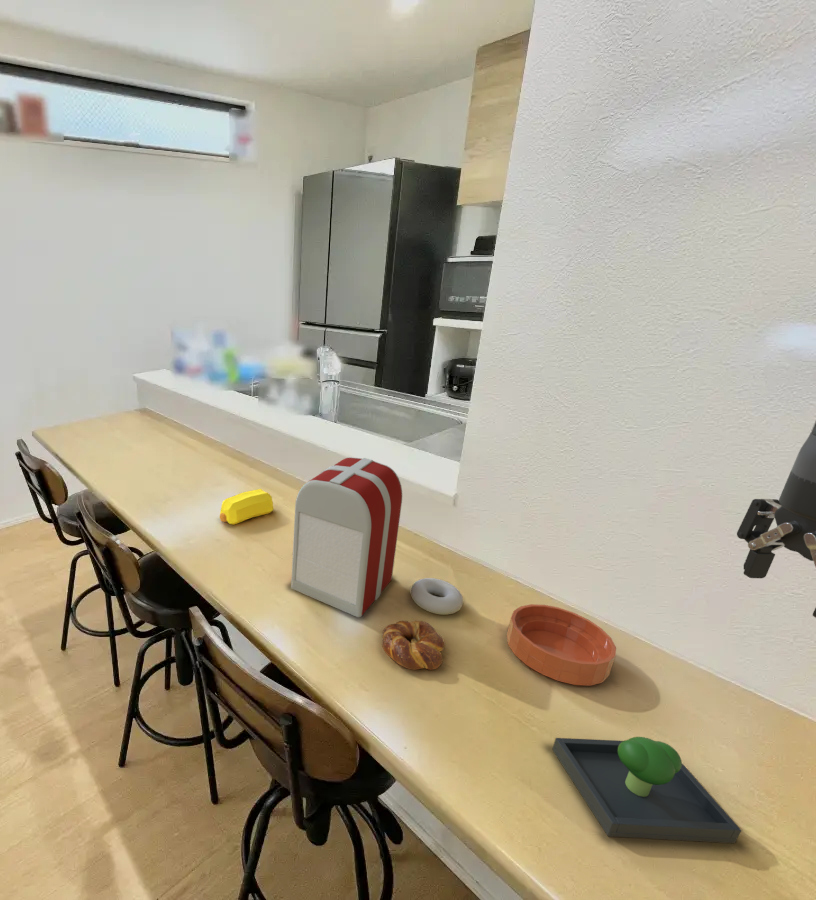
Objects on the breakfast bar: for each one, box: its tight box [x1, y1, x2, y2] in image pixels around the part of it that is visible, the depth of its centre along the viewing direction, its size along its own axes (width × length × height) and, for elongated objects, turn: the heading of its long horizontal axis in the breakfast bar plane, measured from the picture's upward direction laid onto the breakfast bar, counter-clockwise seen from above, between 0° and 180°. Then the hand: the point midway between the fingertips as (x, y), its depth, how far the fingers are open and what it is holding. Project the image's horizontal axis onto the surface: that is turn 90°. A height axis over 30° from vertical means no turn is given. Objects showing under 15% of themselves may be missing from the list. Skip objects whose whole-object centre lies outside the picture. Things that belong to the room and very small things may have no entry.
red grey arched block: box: [290, 456, 403, 618], centre depth 104 cm, size 16×18×27 cm
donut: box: [410, 577, 464, 616], centre depth 101 cm, size 10×4×10 cm
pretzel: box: [381, 620, 445, 671], centre depth 89 cm, size 12×11×4 cm
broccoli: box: [618, 736, 683, 797], centre depth 63 cm, size 7×5×8 cm
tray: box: [552, 737, 742, 844], centre depth 64 cm, size 15×12×2 cm
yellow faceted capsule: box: [219, 488, 274, 526], centre depth 138 cm, size 18×7×8 cm
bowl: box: [506, 603, 617, 687], centre depth 87 cm, size 15×15×5 cm
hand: (786, 596), depth 61 cm, fingers open, 8 cm apart
